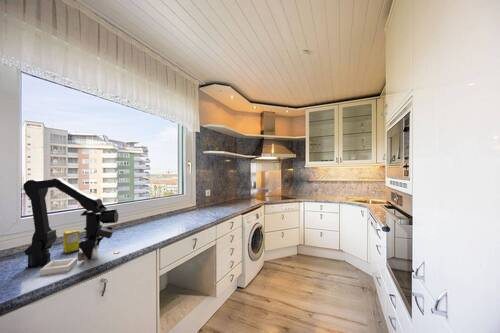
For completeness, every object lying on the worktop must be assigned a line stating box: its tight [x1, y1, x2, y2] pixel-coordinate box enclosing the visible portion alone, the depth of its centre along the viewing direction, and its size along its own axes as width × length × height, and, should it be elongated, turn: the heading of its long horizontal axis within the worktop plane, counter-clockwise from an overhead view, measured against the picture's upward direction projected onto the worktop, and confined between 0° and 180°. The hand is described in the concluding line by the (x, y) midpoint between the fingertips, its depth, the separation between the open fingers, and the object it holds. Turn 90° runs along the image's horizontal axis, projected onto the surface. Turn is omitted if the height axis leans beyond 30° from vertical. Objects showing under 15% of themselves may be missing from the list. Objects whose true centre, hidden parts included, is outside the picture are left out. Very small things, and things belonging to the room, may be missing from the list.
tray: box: [39, 257, 78, 277], centre depth 94 cm, size 10×10×2 cm
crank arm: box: [77, 250, 86, 262], centre depth 104 cm, size 13×3×4 cm, turn 22°
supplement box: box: [62, 229, 81, 255], centre depth 116 cm, size 6×6×11 cm
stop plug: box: [87, 245, 99, 263], centre depth 104 cm, size 4×4×6 cm
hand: (92, 256), depth 104 cm, fingers open, 9 cm apart
